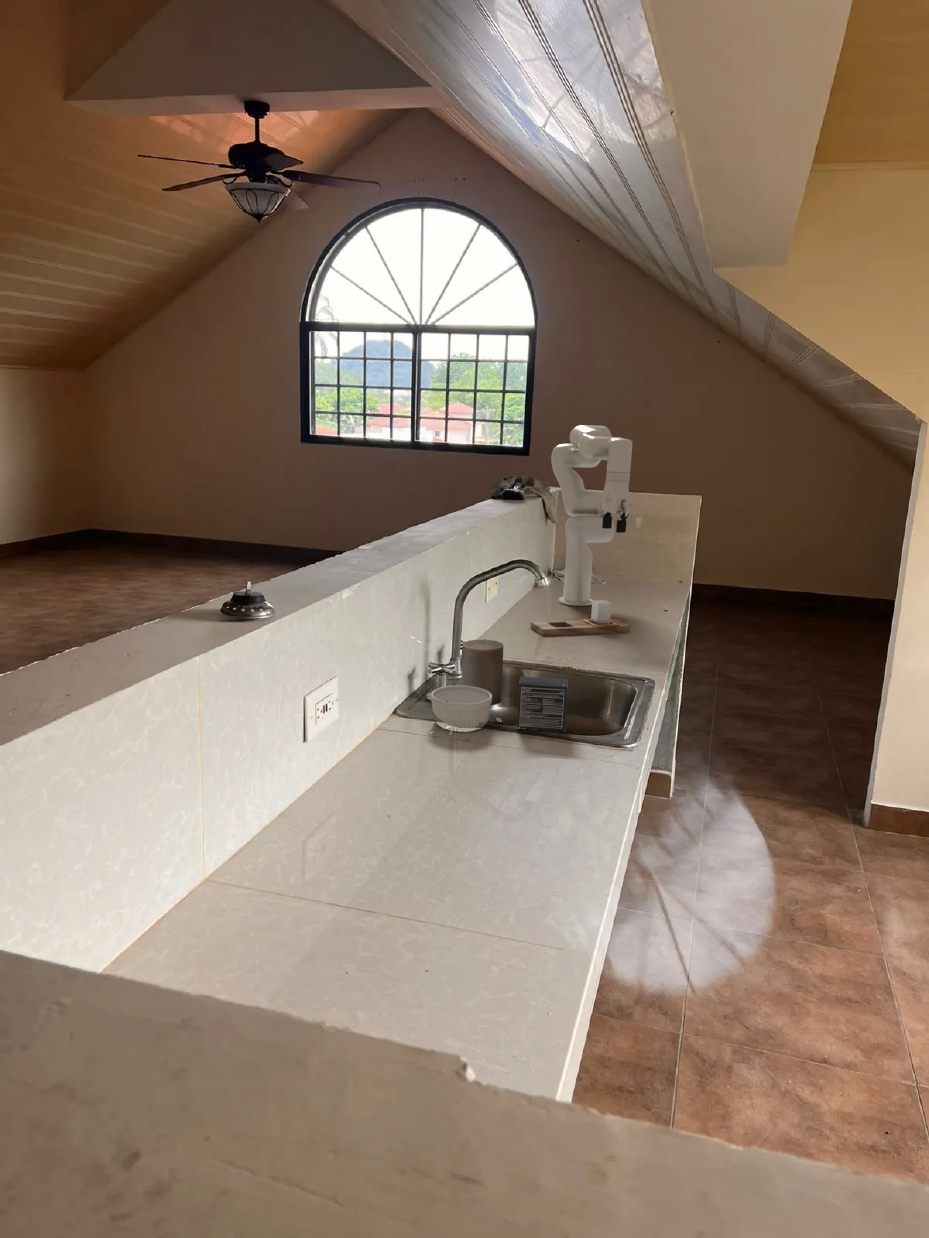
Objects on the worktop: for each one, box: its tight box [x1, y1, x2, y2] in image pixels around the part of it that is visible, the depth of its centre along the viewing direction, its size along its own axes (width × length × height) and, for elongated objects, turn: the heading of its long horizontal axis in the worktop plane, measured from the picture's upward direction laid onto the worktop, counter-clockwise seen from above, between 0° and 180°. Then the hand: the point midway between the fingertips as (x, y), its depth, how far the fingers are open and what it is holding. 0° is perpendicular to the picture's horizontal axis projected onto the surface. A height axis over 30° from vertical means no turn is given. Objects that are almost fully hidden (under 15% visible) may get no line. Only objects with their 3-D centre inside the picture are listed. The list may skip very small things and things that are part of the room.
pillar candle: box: [461, 638, 504, 706], centre depth 212 cm, size 10×10×15 cm
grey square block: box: [590, 599, 612, 625], centre depth 289 cm, size 4×4×9 cm
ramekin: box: [430, 684, 492, 728], centre depth 196 cm, size 13×13×7 cm
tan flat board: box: [530, 618, 631, 637], centre depth 287 cm, size 10×30×2 cm, turn 108°
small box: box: [516, 676, 569, 733], centre depth 197 cm, size 11×6×10 cm, turn 84°
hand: (613, 530), depth 296 cm, fingers open, 9 cm apart
